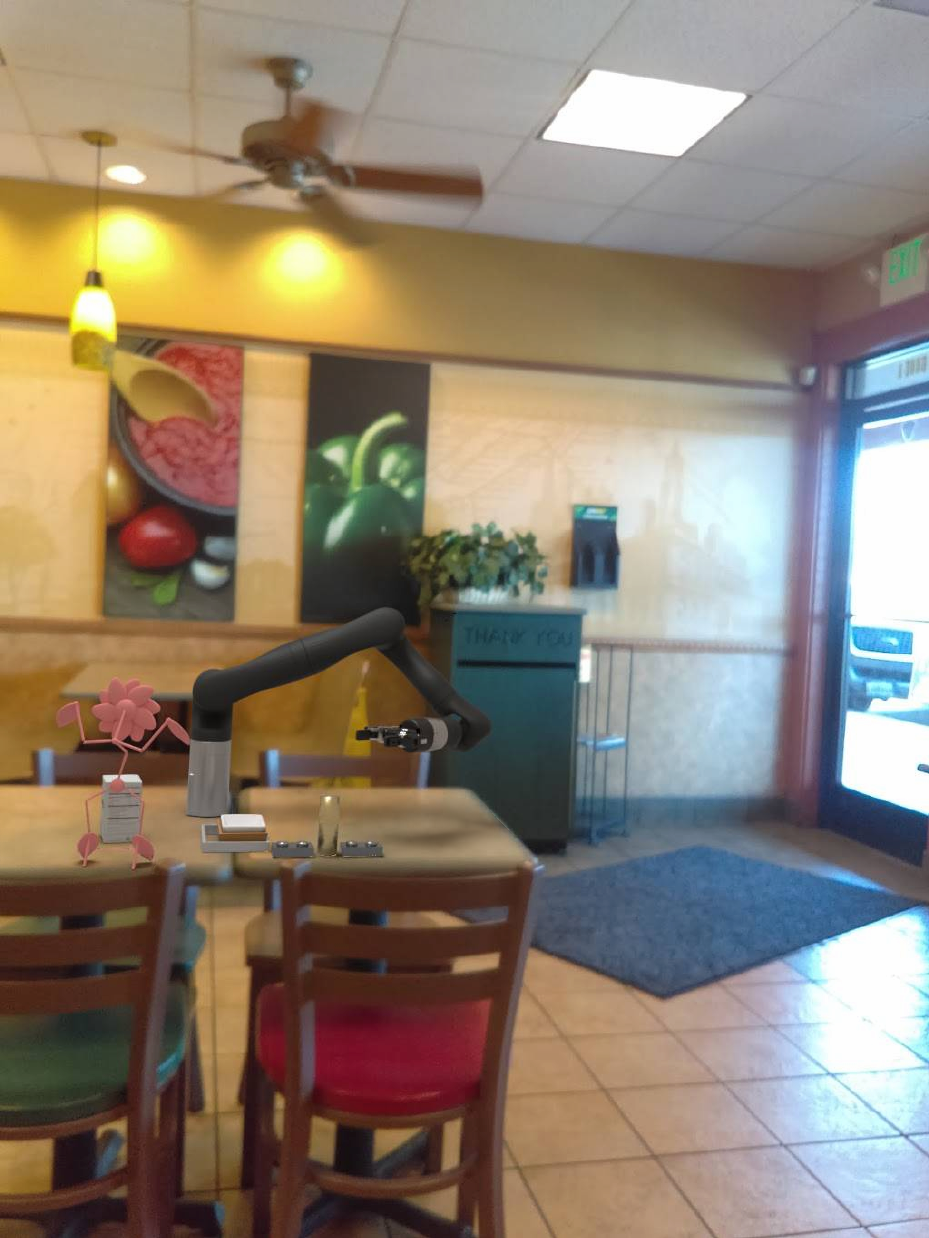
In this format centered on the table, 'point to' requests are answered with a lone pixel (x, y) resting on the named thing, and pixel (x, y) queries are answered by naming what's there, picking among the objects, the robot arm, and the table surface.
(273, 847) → the block
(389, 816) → the table surface
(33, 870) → the table surface
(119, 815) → the supplement box
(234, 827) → the soap dish
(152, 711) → the pink flower figurine
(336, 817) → the link pin
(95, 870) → the table surface
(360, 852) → the chain end
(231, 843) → the coaster tray
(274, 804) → the table surface
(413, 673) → the robot arm
